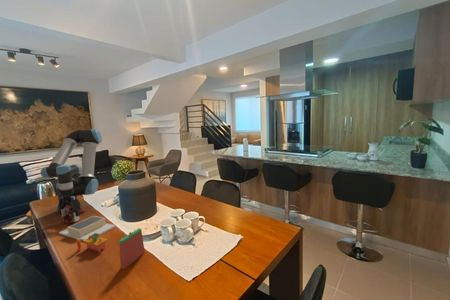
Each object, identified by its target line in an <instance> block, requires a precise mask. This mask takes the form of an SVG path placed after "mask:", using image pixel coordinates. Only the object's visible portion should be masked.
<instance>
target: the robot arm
mask: <svg viewBox="0 0 450 300" xmlns="http://www.w3.org/2000/svg"><path fill="white" fill-rule="evenodd" d="M102 141H103V137H102V134H101V131H100V130H99V129H96V128H95V129H94V128H91V129H90V128H89V129H76V130H73V131H72V132H70V133H68V134H67V135H66V136H65V137H64V139H63V140H62V145H61V146H60V147H59V149H58V151H57V153H56V154H55V156H54V157H53V159H52V160H51V162H50V163H49V165H48V166H46V167H45V166H43V167H42V168H41V169H40V175H41V177H42V178H44V179H51V178H52V179H53V178H57V182H56V184H55V187H56V188H55V189H56V195H57V199H58V202H57V206H56V212H57V214H61V218H62V217H64V216H66V213H65V206H66V205H68V206H70V207H72V209H73V210H74V212H73V213H74V220H75V222H80V211H81V210H82V209H81V208H82V204H81V202H80V201H79V200H80V199H78V196H91V195H94V194H95V193H96V192H98V191H97V190H98V188H99V181H98V179H97V178H96V176H95V175H94V174H95V164H96V162H95V161H96V151H97V148H98V147H99V144H100V143H102ZM80 144H81V145H82V146H83V151H82V160H81V165H79V164H77V163H75V164H66V162H67V161H68V159H69V157H70V155H71V153H72V152H73V150H74V149H75V148H76V147H77V146H78V145H80ZM79 174H80V175H79ZM77 175H79V176H78V177H77V180H75V178H74V177H75V176H77ZM75 222H74V223H75Z"/></svg>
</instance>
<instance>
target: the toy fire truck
mask: <svg viewBox="0 0 450 300" xmlns="http://www.w3.org/2000/svg"><path fill="white" fill-rule="evenodd" d="M73 212H74V210H73V209H72V207H70V206H68V205H66V206H65V213H66V216H64V217H62V216H61V220H62V222H63V223H65V224H66V225H70V224H71V223H72V222H73V223H75V220H74V213H73Z"/></svg>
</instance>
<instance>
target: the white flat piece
mask: <svg viewBox="0 0 450 300" xmlns="http://www.w3.org/2000/svg"><path fill="white" fill-rule="evenodd" d="M106 220H107V219H106V218H105V217H102V216H97V215H92V216H90V217H88V218H86V219H83V220H81V221H80V220H79V221H77V223H74V224H72V225H69V226H67V227H66V228H65V229H63V230H61V231H59V232H58V234H59V235H62V236H65V237H68V238H72V239H76V240H77V239H78V238H79V239H80V241H81V242H84V241H83V240H85V239H87V238H89V236H91V235H92V234H94V233H98V234H100V235H99V236H98V237H101V236H102V235H104V234H105V233H107V232H109V231H110V230H113V229H115V228H116V227H117V225H116V224H111V223H109V222H108V223H107V221H106Z"/></svg>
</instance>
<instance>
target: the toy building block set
mask: <svg viewBox="0 0 450 300" xmlns="http://www.w3.org/2000/svg"><path fill="white" fill-rule="evenodd" d="M99 235H100V234H98V233H94V234H92V235H91V236H89V238H87V239H85V240H83V241H82V240H80V239H79V238H78V239H76V245H77V252H81V249H82V242H83V243H86V247H87V248H86V249H88V250H90V251H91V250H92V251H95V252H98V253H101V252H102V250H106V245H105V242H107V240H108V238H105V237H101V235H100V236H99ZM143 237H144V236H143V233H142V228H137V229H135V230H134V231H132V232H131V231H129V233H128V234H127V235H126V236H124V237H122V238H121V239H120V240H118V242H119V257H120V259H119V260H120V269H122V270H125V269H127V268H128V267H129V266H130V265H132V263H134V262H135V261H136V260H137V259H139V258H140V257H141V256H143V255H144V254H145V253H146V250H145V244H144V239H143Z"/></svg>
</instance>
